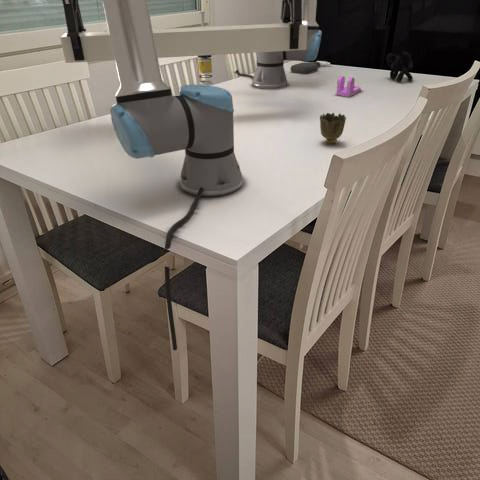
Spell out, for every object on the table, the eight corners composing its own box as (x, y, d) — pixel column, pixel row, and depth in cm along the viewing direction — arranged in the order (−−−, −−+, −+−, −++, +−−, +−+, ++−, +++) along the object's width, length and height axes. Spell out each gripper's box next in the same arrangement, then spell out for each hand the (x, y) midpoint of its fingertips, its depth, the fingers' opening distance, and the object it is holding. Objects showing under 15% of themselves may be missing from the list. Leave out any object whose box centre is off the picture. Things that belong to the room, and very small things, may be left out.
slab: (65, 63, 133) (60, 37, 129) (69, 57, 140) (64, 33, 136) (306, 49, 143) (307, 25, 140) (298, 45, 151) (299, 22, 147)
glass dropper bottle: (214, 91, 188) (211, 12, 172) (202, 93, 186) (197, 13, 170) (210, 88, 192) (206, 11, 176) (198, 90, 190) (193, 11, 175)
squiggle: (400, 92, 202) (376, 71, 205) (417, 76, 202) (392, 56, 205) (405, 81, 191) (380, 59, 194) (423, 64, 191) (397, 42, 194)
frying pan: (288, 71, 219) (314, 64, 235) (307, 74, 213) (332, 66, 229) (288, 65, 217) (314, 58, 233) (307, 68, 211) (333, 60, 228)
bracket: (349, 96, 177) (351, 78, 174) (336, 94, 180) (337, 76, 177) (362, 90, 186) (364, 72, 182) (350, 88, 189) (352, 71, 185)
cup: (314, 144, 132) (316, 118, 127) (322, 137, 137) (324, 111, 133) (339, 148, 129) (341, 121, 124) (346, 140, 134) (349, 114, 130)
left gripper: (73, -29, 116) (90, 63, 128) (83, -29, 134) (97, 51, 146) (43, -28, 115) (63, 64, 127) (57, -29, 133) (73, 52, 145)
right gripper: (316, -35, 126) (311, 51, 138) (294, -35, 143) (291, 41, 156) (290, -34, 125) (287, 52, 137) (272, -35, 142) (271, 42, 155)
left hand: (81, 57), depth 137 cm, fingers closed on slab, 9 cm apart
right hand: (289, 46), depth 146 cm, fingers closed on slab, 9 cm apart
